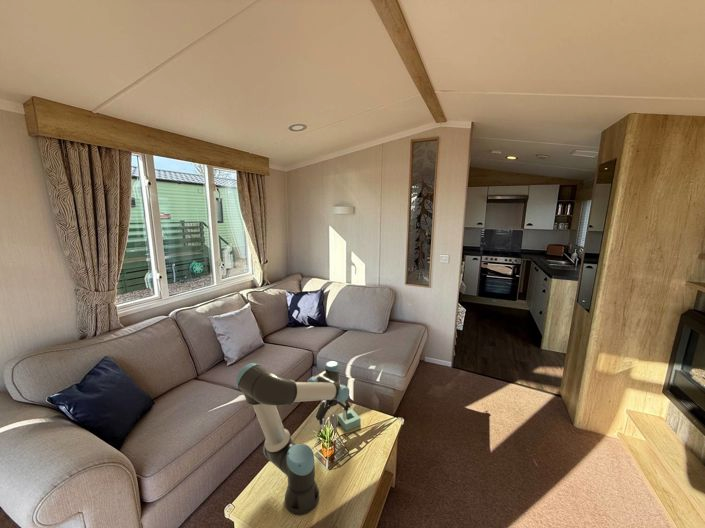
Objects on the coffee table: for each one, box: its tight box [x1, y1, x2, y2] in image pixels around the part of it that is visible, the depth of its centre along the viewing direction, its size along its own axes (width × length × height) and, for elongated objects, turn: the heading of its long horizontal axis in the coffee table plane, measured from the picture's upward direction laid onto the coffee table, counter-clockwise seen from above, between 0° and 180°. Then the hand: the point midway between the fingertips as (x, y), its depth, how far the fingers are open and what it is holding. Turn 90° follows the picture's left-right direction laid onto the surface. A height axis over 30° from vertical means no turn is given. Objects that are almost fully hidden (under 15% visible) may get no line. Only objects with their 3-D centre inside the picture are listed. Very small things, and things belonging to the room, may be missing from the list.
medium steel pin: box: [319, 415, 326, 431], centre depth 176 cm, size 3×3×9 cm
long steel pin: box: [329, 413, 337, 435], centre depth 168 cm, size 3×3×15 cm
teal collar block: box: [337, 408, 362, 432], centre depth 182 cm, size 10×10×4 cm
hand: (333, 424), depth 168 cm, fingers open, 13 cm apart
